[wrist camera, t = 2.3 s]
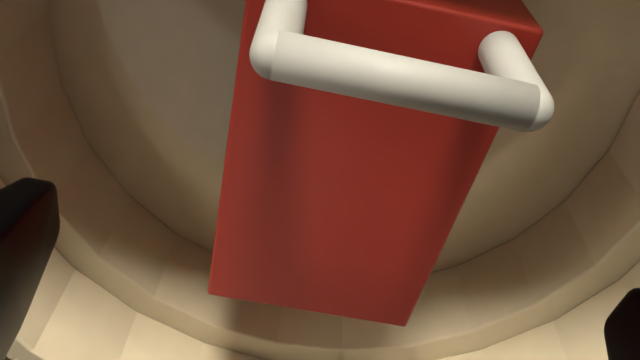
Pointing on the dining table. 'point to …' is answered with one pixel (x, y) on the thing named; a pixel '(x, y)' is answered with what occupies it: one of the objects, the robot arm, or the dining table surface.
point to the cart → (363, 144)
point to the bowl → (206, 179)
